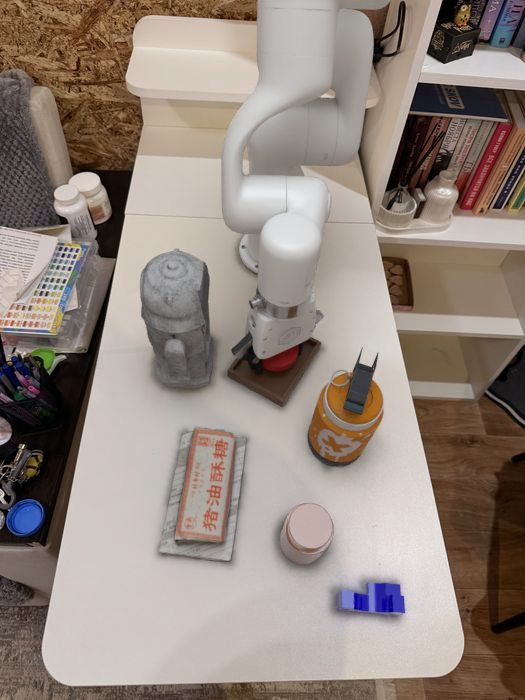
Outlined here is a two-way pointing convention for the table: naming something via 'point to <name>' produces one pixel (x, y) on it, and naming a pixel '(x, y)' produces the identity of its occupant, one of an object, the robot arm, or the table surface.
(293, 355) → the lid
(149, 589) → the table surface
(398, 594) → the cable holder
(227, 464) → the packaged product
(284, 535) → the jar
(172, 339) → the figurine
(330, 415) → the canister
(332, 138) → the robot arm
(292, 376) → the tray
